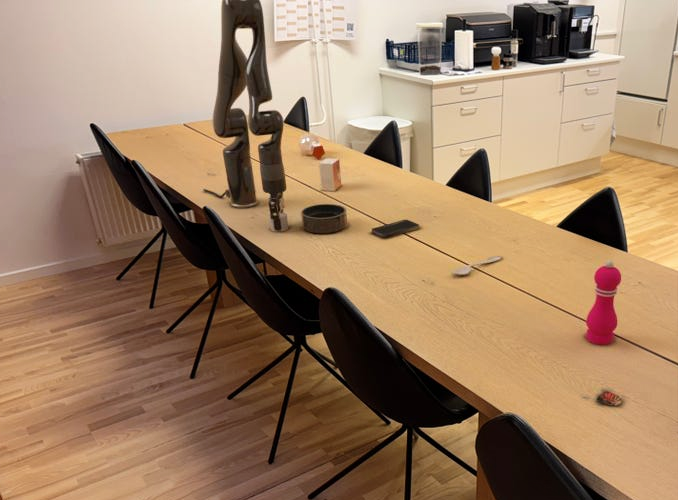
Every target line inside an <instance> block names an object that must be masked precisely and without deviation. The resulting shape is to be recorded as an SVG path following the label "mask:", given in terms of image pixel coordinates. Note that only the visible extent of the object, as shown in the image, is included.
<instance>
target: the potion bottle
mask: <svg viewBox="0 0 678 500" xmlns="http://www.w3.org/2000/svg"><path fill="white" fill-rule="evenodd" d="M298 148H299V150H300V152H301V153H302V154H304V155H306V156H312V157H314V158H315V159H317V160H320V159H321V158H322V157H323V156H324V155H325V154H326V152H325V149H324V146H323V144H322V143H321V142H320V140H319V139H318V137H317V136H316V135H314V134H313V133H307V132H306V133H305V134H302V135H301V136H300V137H299V139H298Z"/></svg>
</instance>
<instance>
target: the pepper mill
mask: <svg viewBox="0 0 678 500" xmlns="http://www.w3.org/2000/svg"><path fill="white" fill-rule="evenodd" d="M604 264H605V265H602V266H600V267H598V269H597V270H596V271H595V273H594V276H593V280H594V283H595V284H596V285H595V286H594V288H595V289H594V293H595V301H594V303H593V306H592V307H591V309H590V310H589V312H588V314H587V316H586V320H585V324H586V327H587V330H586V336H585V337H586V340H587V341H588V342H589V343H592V344H595V345H608V344H611V343H613V341H614V335H615V333H614V331H616V329H617V327H618V316H617V313H616V310H615V305H614V304H615V303H614V302H615V296H616V295H617V294H618V286H619V285H620V284H621V282H622V273H621V272H620V270H619V269H618V268H617V267H616V266H614V261H613V260H610V259H609V260H607V261H606V262H605V263H604Z"/></svg>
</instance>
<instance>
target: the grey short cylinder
mask: <svg viewBox="0 0 678 500" xmlns="http://www.w3.org/2000/svg"><path fill="white" fill-rule="evenodd" d="M274 215H277V214H276V213H274ZM268 217H269V224H270V225H269V226H270V230H271V231H272V232H285V231H288V230H289V227H290V225H289V219H288V214H287V213H286V212H283V213H282V212H280V217H281V218H280V220H281V230H275V229H274V222H273V219H271V215H270V214H269V215H268Z"/></svg>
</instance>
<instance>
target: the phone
mask: <svg viewBox="0 0 678 500" xmlns="http://www.w3.org/2000/svg"><path fill="white" fill-rule="evenodd" d="M418 229H420V224H419V223H416V222H414V221H412V220H409V219H402V220H398V221H394V222H391V223H389V224H388V223H386V224H384V225H380V226H377V227H372V228H371V234H373V235H375V236H377V237H379V238H382V239H389V238H392V237H395V236H399V235H402V234H406V233H409V232H412V231H416V230H418Z"/></svg>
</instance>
